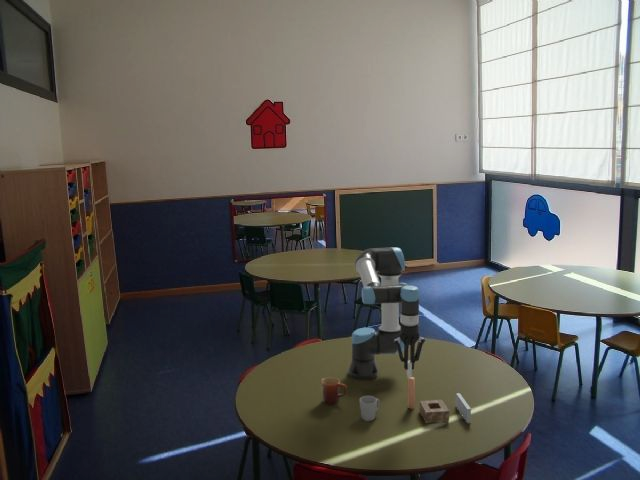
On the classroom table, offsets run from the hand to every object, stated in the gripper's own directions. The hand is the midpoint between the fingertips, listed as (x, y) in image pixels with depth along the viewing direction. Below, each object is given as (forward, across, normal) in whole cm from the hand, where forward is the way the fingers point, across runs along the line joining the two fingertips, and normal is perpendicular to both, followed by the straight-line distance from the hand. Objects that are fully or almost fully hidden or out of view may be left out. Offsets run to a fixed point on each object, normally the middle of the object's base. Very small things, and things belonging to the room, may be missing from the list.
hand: (409, 376), depth 232 cm
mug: (+20, -30, +18) cm, 40 cm away
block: (+19, +11, 0) cm, 22 cm away
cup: (+20, -16, +3) cm, 25 cm away
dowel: (+19, +4, +9) cm, 22 cm away
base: (+19, +24, 0) cm, 31 cm away
